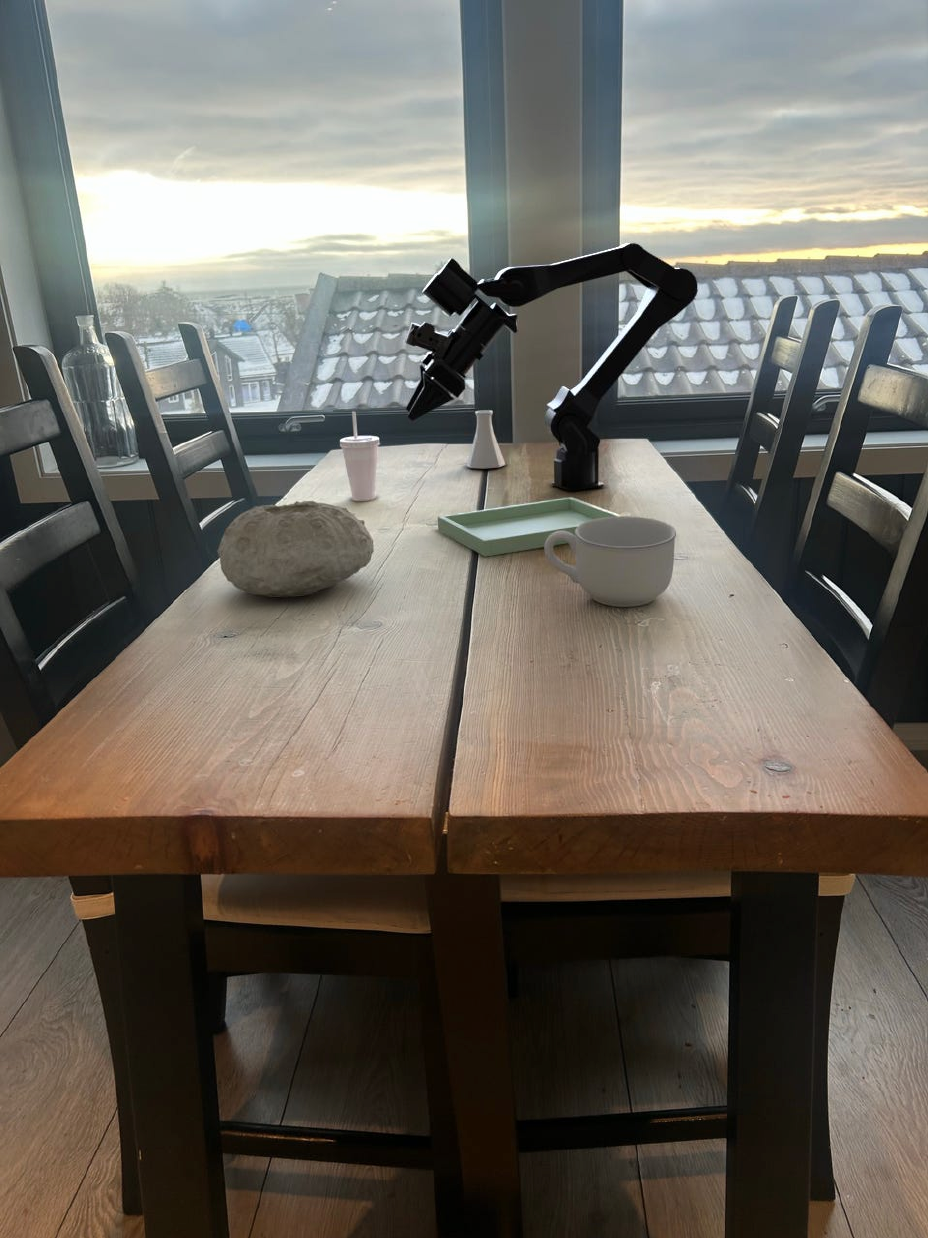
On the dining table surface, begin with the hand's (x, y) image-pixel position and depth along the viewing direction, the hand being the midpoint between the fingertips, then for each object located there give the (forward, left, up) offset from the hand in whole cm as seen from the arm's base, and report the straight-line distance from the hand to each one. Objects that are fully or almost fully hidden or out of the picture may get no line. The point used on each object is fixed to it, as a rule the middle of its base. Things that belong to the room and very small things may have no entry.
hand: (408, 414), depth 159 cm
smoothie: (+7, -3, -13) cm, 16 cm away
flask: (-21, -16, -13) cm, 29 cm away
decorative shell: (+29, +39, -13) cm, 51 cm away
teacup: (0, +61, -13) cm, 62 cm away
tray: (-6, +31, -13) cm, 34 cm away
